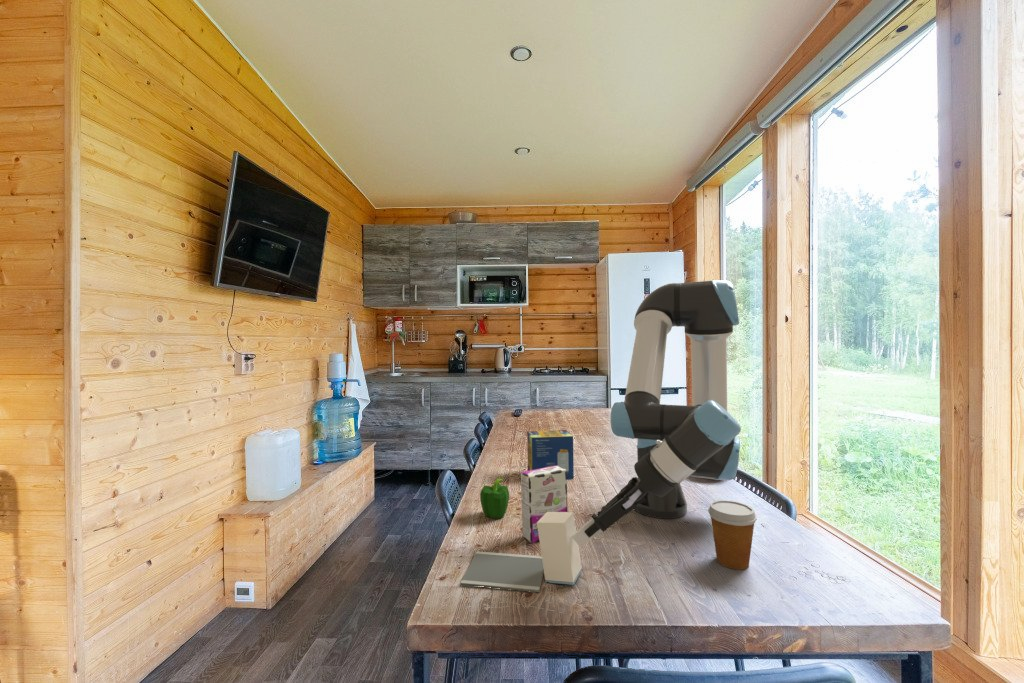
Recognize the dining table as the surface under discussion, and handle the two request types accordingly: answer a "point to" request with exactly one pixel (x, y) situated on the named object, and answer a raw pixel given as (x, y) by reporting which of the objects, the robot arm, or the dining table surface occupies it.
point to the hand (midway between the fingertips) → (577, 540)
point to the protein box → (550, 450)
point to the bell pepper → (494, 500)
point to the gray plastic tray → (505, 571)
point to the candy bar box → (541, 497)
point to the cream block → (559, 548)
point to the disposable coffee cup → (732, 532)
